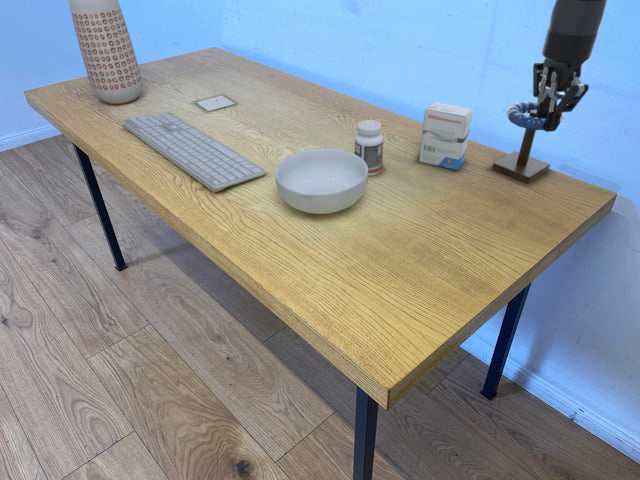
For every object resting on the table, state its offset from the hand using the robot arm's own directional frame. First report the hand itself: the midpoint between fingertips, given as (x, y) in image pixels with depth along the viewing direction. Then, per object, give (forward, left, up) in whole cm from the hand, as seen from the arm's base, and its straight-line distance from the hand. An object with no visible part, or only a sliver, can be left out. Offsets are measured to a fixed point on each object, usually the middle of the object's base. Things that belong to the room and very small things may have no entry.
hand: (544, 126), depth 87 cm
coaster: (+78, +26, -11) cm, 83 cm away
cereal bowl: (+21, +36, -11) cm, 43 cm away
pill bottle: (+24, +21, -11) cm, 34 cm away
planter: (+99, +44, -11) cm, 109 cm away
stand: (+3, -2, -11) cm, 12 cm away
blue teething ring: (+3, -2, +1) cm, 4 cm away
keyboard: (+58, +45, -11) cm, 74 cm away
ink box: (+16, +7, -11) cm, 21 cm away
